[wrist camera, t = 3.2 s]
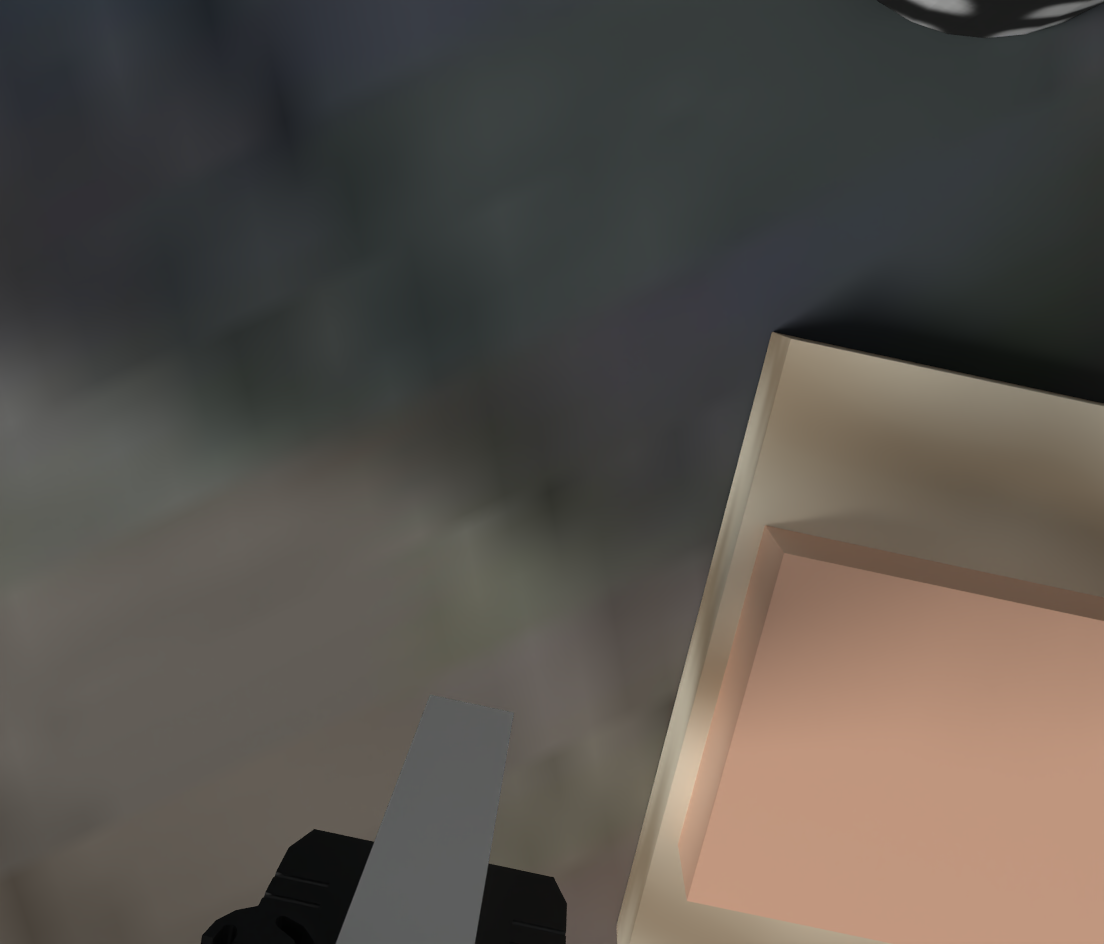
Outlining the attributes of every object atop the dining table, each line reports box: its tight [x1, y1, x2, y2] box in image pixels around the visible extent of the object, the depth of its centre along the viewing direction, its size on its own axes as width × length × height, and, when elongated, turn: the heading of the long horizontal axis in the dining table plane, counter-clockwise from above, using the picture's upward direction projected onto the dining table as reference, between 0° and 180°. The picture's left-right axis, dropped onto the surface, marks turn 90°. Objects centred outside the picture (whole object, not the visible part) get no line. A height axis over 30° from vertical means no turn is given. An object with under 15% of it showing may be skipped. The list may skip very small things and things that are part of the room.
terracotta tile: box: [678, 525, 1104, 944], centre depth 20 cm, size 8×11×2 cm
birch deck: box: [617, 332, 1104, 944], centre depth 22 cm, size 16×14×2 cm
